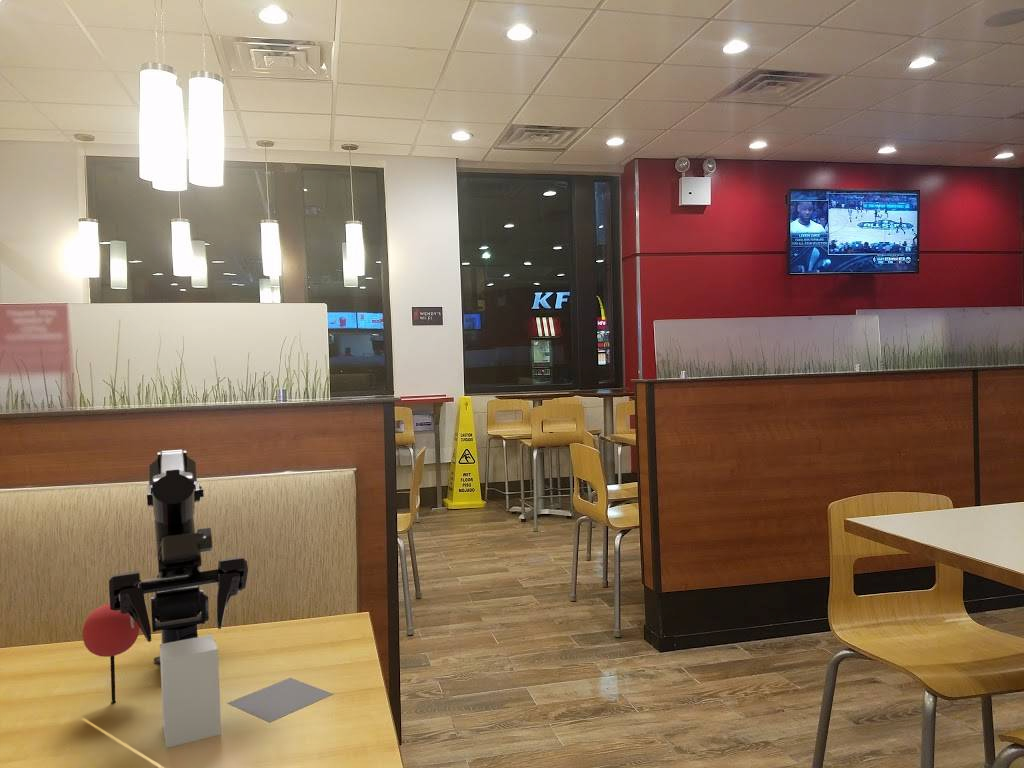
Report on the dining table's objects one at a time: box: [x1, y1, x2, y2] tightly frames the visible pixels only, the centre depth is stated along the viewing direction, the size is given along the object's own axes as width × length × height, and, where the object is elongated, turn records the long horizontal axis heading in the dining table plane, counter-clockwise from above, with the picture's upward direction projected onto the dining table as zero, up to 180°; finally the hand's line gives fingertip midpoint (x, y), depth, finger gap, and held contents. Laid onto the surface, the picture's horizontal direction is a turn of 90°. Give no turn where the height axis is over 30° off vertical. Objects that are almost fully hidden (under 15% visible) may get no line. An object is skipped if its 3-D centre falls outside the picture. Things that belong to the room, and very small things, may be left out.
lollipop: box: [82, 603, 141, 704], centre depth 111 cm, size 8×8×15 cm
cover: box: [159, 634, 222, 749], centre depth 100 cm, size 7×7×12 cm
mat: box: [227, 677, 334, 723], centre depth 110 cm, size 11×11×1 cm
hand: (185, 633), depth 104 cm, fingers open, 9 cm apart
